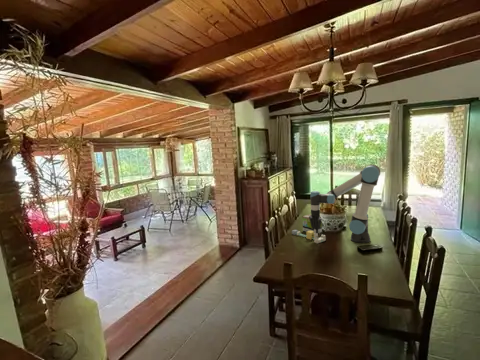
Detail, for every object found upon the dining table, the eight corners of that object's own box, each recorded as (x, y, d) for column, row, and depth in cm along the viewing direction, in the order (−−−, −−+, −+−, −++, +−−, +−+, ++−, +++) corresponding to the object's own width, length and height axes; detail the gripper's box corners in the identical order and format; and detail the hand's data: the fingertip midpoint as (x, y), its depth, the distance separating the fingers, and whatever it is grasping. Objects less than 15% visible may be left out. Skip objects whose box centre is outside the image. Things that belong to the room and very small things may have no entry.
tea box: (302, 231, 270) (302, 216, 268) (309, 228, 276) (308, 214, 274) (315, 234, 258) (314, 218, 257) (322, 232, 264) (321, 216, 263)
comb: (325, 240, 242) (325, 235, 241) (317, 243, 236) (317, 238, 235) (322, 239, 245) (322, 234, 244) (314, 242, 239) (314, 237, 238)
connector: (298, 233, 263) (298, 230, 263) (295, 234, 261) (295, 231, 260) (295, 232, 266) (295, 229, 266) (291, 233, 264) (291, 230, 263)
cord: (322, 241, 239) (322, 239, 239) (321, 242, 238) (321, 240, 238) (294, 233, 265) (294, 231, 265) (293, 233, 264) (293, 232, 264)
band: (300, 234, 260) (300, 231, 260) (298, 235, 258) (297, 232, 258) (299, 234, 261) (299, 231, 261) (297, 235, 259) (296, 232, 259)
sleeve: (315, 238, 248) (314, 231, 247) (311, 239, 245) (310, 232, 244) (310, 236, 252) (310, 230, 251) (306, 238, 249) (306, 231, 248)
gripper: (324, 209, 237) (325, 237, 240) (312, 207, 248) (312, 233, 251) (318, 211, 233) (319, 239, 236) (306, 209, 243) (307, 235, 246)
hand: (315, 236), depth 243 cm, fingers closed
